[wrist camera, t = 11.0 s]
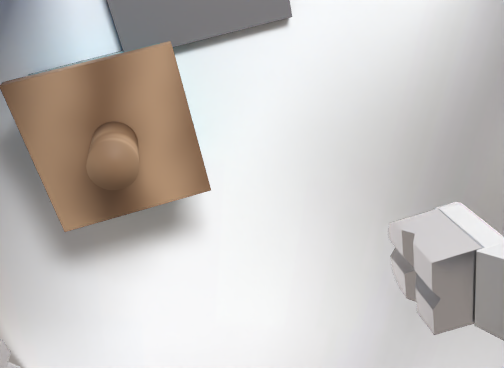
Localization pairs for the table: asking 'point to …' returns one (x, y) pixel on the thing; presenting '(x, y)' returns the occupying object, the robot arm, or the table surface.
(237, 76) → the table surface
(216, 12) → the mat
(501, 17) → the table surface
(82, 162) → the lid
